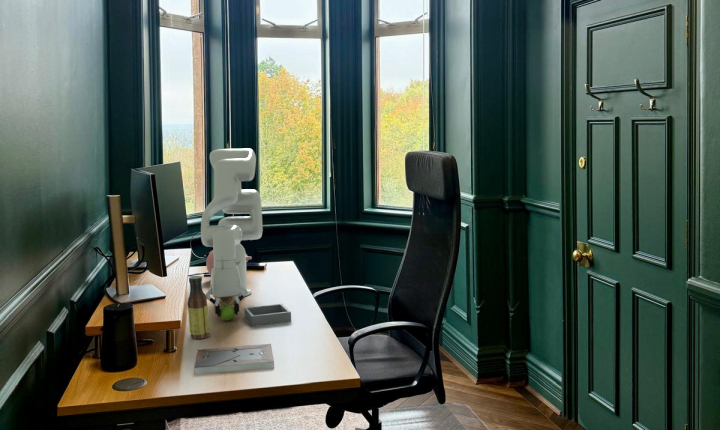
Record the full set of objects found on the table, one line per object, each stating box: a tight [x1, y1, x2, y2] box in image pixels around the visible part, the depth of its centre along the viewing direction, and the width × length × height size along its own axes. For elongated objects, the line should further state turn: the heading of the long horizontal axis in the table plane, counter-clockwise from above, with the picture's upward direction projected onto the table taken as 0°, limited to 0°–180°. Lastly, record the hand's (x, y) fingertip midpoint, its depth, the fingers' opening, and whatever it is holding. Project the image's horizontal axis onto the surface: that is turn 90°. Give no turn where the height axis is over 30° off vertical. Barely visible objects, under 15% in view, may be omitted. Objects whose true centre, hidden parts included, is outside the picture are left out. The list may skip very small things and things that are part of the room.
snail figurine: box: [219, 296, 236, 322], centre depth 242 cm, size 5×6×12 cm
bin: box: [243, 303, 292, 327], centre depth 242 cm, size 13×14×4 cm
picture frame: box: [194, 343, 275, 375], centre depth 199 cm, size 16×2×22 cm
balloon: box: [205, 249, 253, 276], centre depth 307 cm, size 15×20×15 cm
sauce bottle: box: [187, 275, 211, 340], centre depth 222 cm, size 6×6×20 cm
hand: (227, 314), depth 242 cm, fingers closed on snail figurine, 5 cm apart
